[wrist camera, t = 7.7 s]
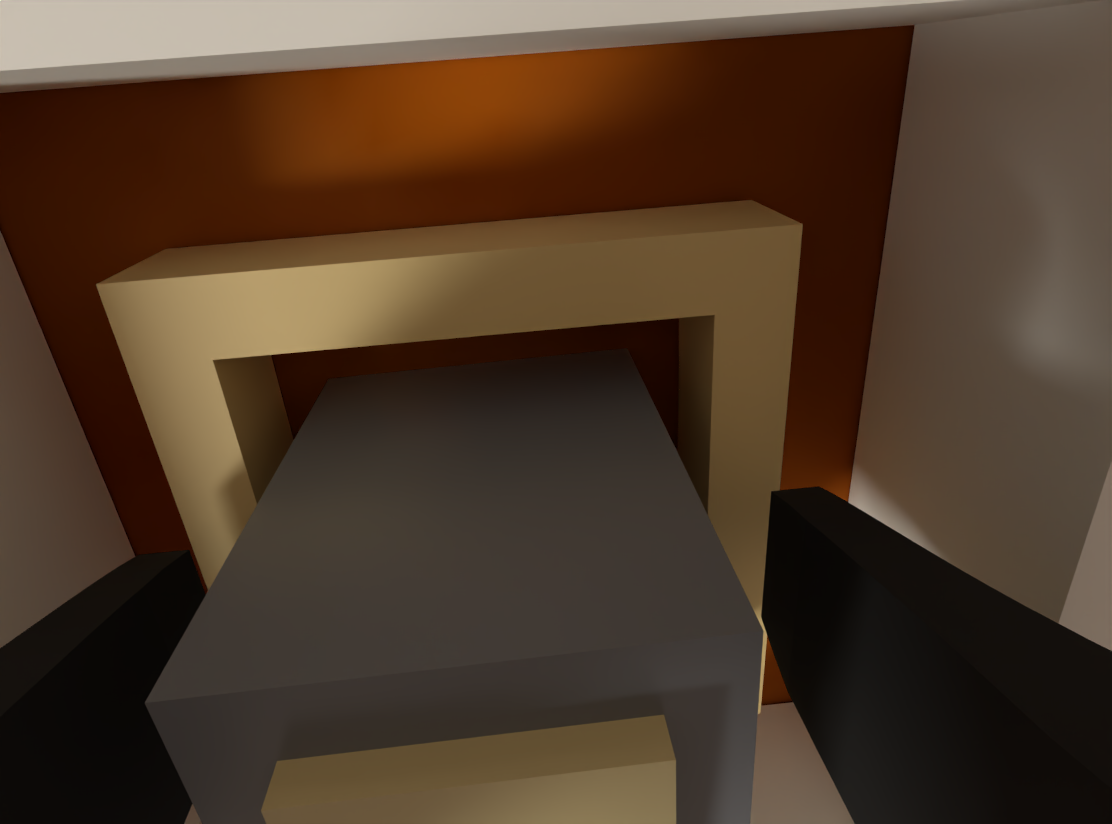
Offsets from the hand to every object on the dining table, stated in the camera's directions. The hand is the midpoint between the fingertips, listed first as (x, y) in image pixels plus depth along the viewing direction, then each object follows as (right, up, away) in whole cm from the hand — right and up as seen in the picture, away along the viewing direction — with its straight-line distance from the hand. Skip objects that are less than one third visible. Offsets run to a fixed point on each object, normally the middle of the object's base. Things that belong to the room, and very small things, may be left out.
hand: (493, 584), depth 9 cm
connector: (0, +1, +3) cm, 3 cm away
